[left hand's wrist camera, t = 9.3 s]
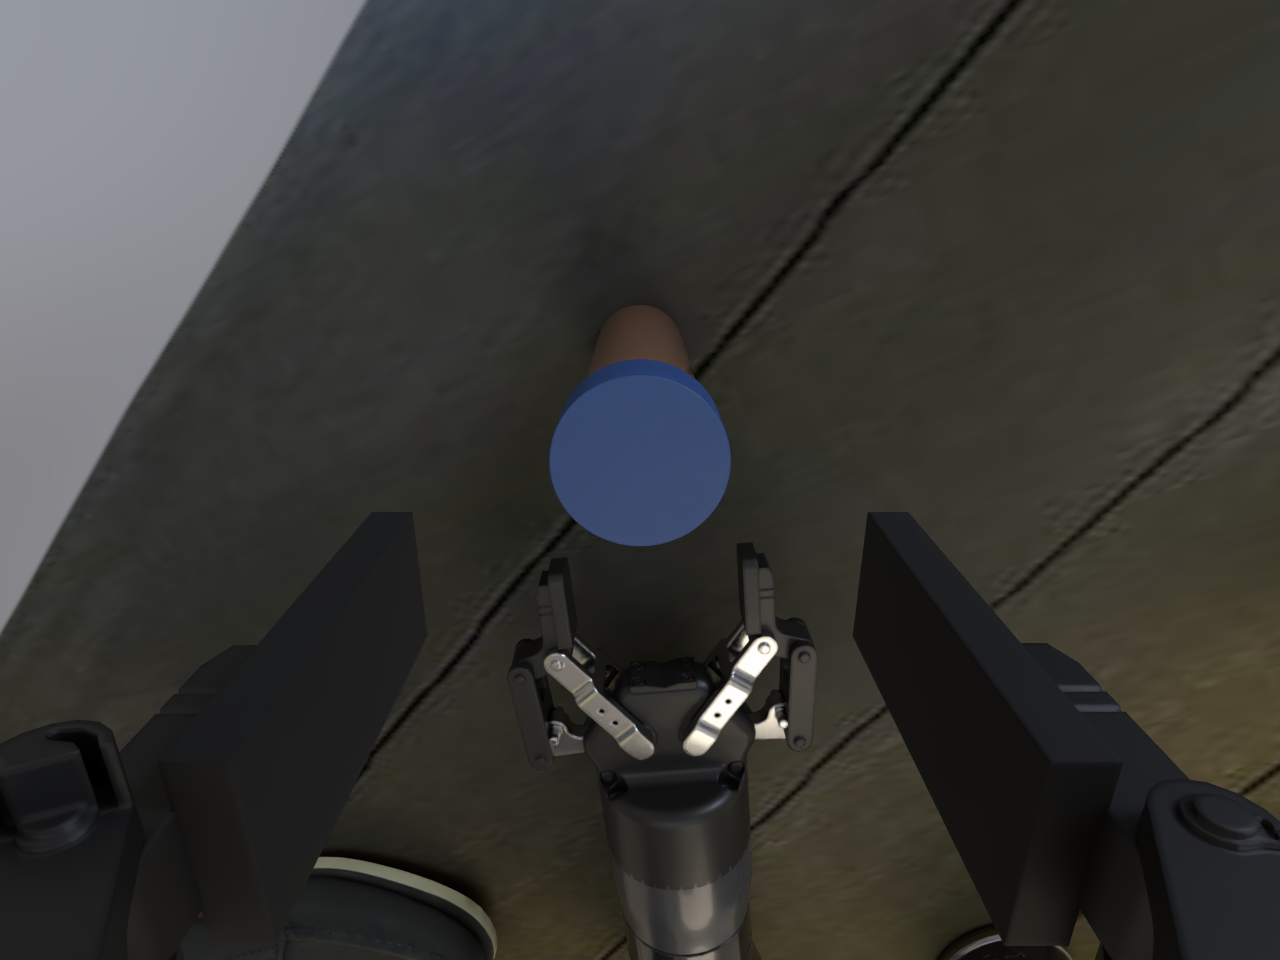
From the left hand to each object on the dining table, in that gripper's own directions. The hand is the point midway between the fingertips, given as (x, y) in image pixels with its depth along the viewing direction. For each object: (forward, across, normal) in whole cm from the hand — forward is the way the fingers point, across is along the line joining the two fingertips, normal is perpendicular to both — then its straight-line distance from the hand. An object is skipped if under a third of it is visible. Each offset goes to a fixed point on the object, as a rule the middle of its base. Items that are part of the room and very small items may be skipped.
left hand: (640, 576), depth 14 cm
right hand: (+17, 0, +8) cm, 19 cm away
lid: (+7, 0, 0) cm, 7 cm away
